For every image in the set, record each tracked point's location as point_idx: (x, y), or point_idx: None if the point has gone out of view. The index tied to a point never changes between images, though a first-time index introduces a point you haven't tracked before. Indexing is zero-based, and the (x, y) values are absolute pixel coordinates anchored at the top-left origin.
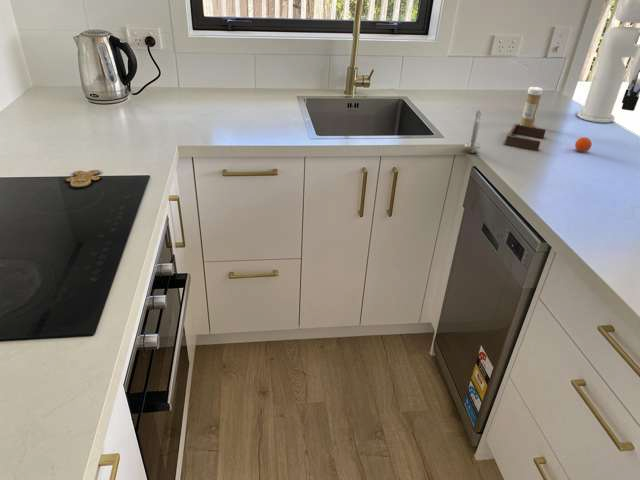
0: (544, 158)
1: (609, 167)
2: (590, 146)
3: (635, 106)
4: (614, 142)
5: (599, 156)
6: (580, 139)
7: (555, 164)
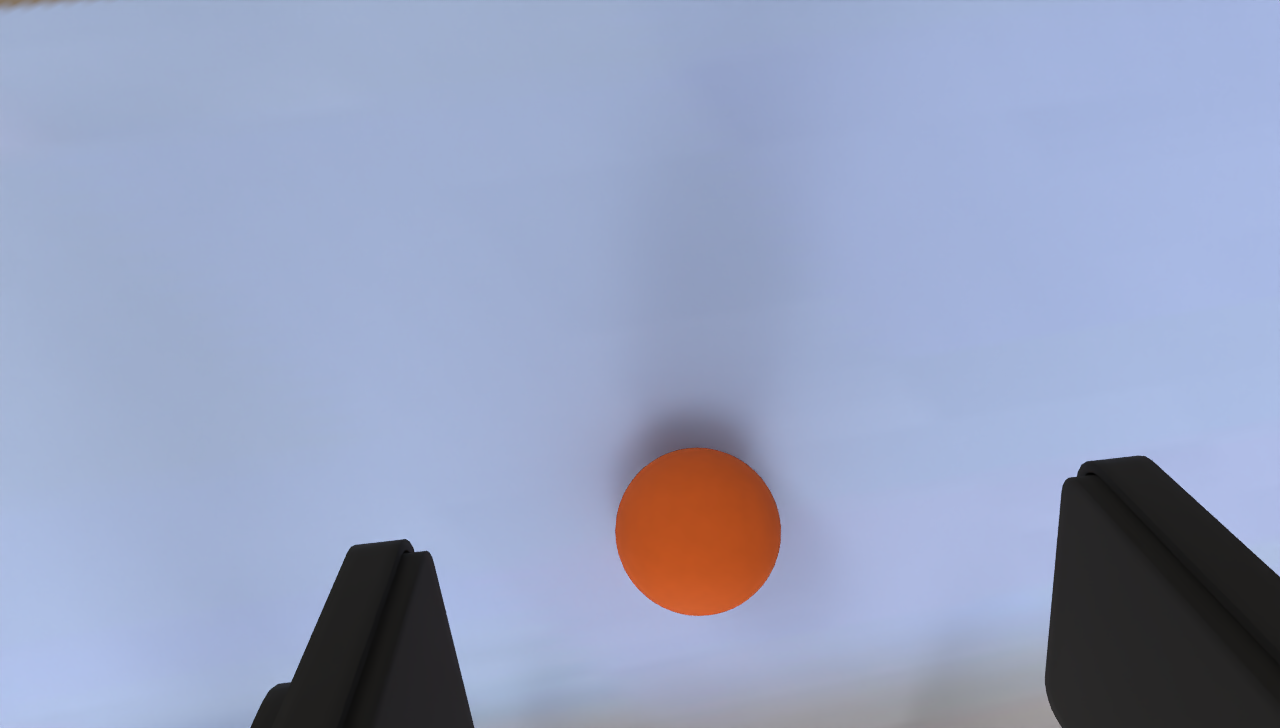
0: None
1: (1022, 170)
2: (725, 464)
3: (1204, 515)
4: (74, 251)
5: (722, 314)
6: (735, 603)
7: None
